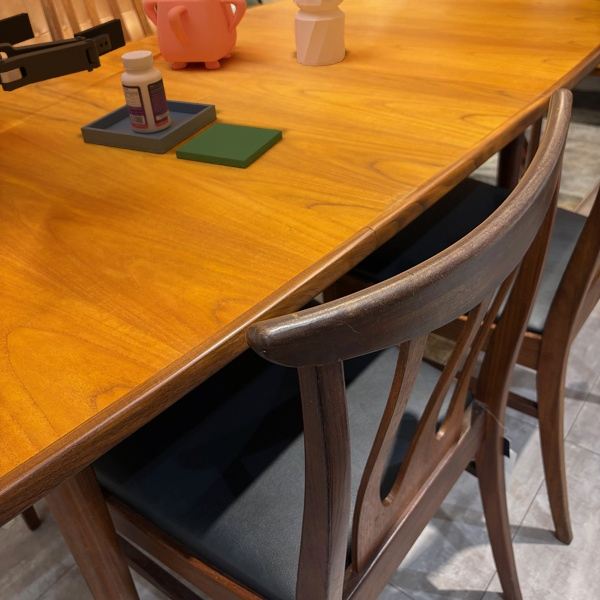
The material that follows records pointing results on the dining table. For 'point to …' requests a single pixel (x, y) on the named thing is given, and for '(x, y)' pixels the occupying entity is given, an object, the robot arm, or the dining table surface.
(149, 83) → the pill bottle
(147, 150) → the tray
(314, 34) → the vase
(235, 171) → the dining table surface
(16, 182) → the dining table surface
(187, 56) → the pink handled pot
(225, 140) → the scouring pad
